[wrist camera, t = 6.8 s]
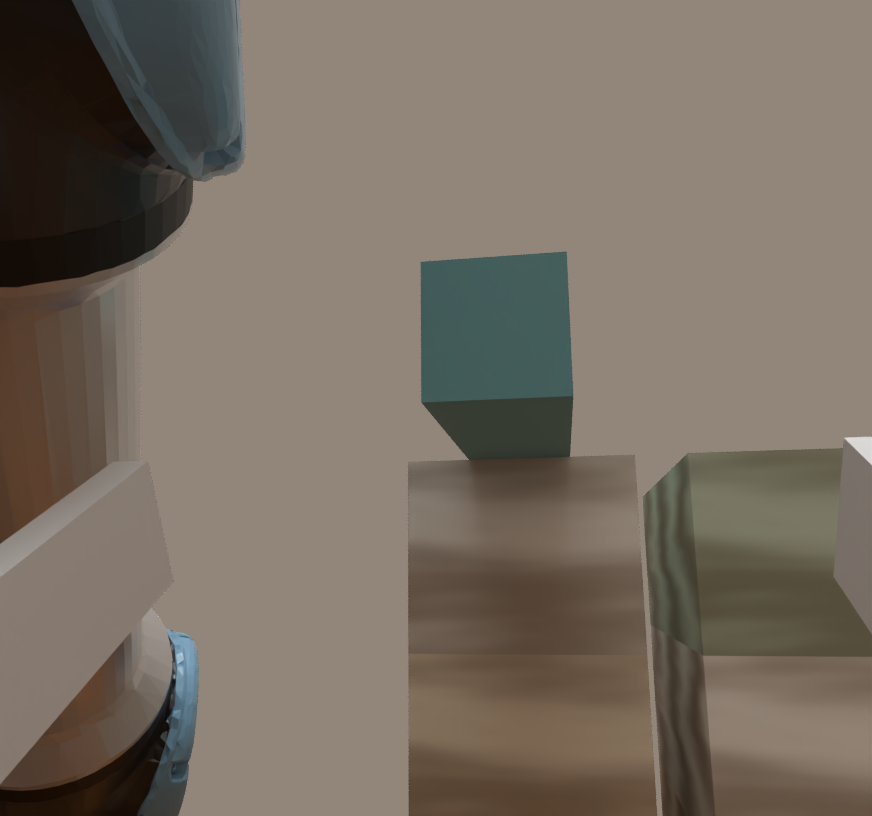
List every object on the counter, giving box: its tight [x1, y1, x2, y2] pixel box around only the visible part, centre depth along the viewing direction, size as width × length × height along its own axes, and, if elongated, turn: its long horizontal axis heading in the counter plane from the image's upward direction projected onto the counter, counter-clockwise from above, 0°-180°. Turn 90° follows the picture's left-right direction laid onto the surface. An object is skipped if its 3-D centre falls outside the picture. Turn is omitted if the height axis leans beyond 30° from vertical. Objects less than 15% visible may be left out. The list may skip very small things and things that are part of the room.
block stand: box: [408, 448, 872, 816], centre depth 36 cm, size 18×20×30 cm
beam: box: [421, 252, 573, 460], centre depth 36 cm, size 30×4×4 cm, turn 171°
